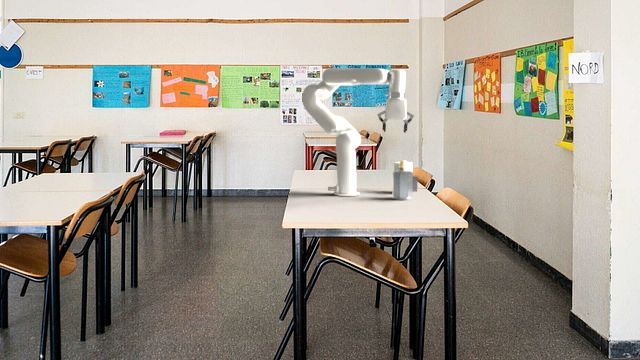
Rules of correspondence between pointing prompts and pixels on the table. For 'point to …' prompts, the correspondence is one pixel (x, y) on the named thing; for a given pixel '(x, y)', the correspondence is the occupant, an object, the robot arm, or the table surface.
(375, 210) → the table surface
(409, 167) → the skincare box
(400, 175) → the pale grey carton
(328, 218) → the table surface
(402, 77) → the robot arm
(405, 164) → the plunger
